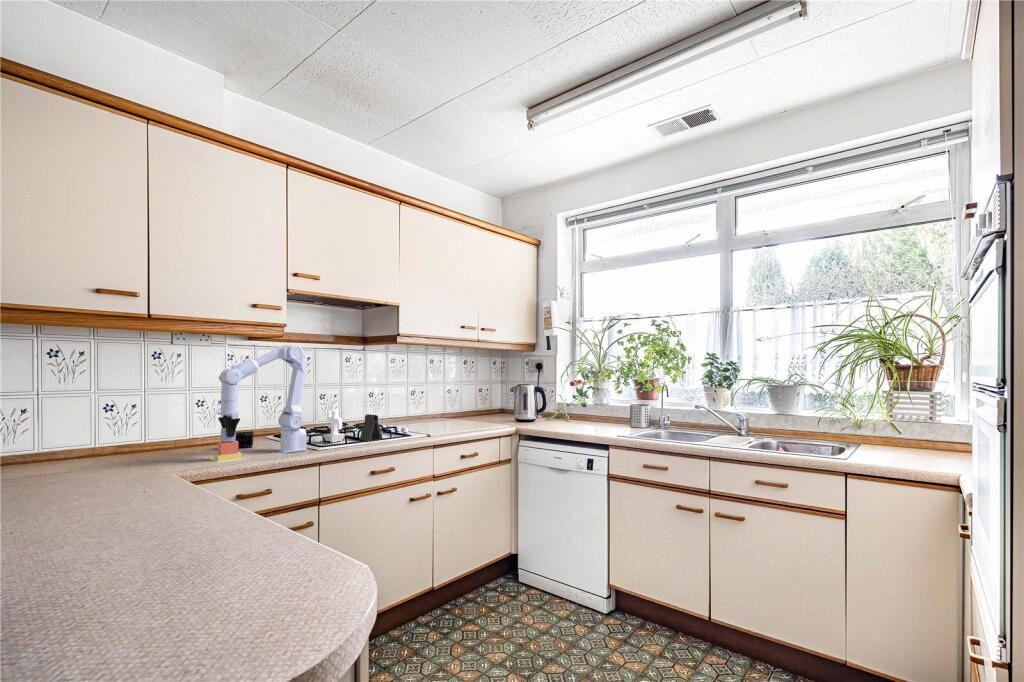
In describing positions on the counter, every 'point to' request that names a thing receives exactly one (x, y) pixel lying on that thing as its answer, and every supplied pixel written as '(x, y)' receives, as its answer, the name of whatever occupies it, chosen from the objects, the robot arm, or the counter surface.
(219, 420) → the robot arm
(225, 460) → the baseplate
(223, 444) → the red brick
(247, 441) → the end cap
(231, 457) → the mustard brick
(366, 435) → the phone stand
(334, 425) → the figurine
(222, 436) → the blue brick
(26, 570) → the counter surface
